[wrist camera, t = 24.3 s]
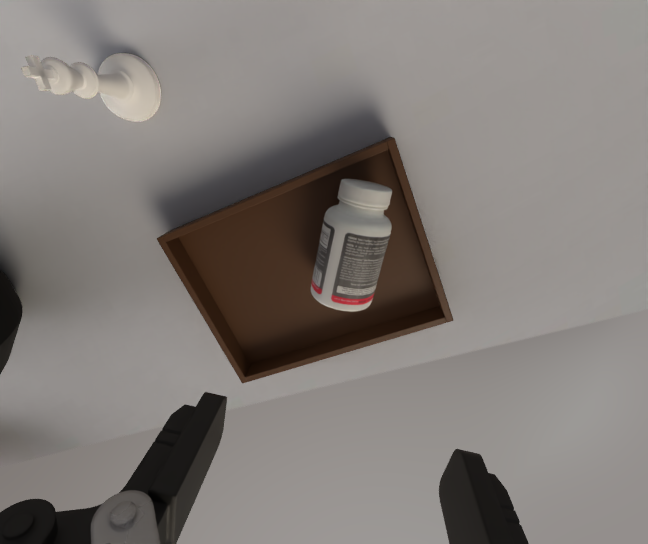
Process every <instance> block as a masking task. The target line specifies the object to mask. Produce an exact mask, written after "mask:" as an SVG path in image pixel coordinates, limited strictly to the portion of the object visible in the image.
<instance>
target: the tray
mask: <svg viewBox="0 0 648 544" xmlns="http://www.w3.org/2000/svg"><path fill="white" fill-rule="evenodd" d="M342 179H358V180H364V181H369V182H373V183H377V184H381V185H384V186H386V187H389V188H390V189H392V195H391V199H390V205H389V206H388V208H387V209H386V210H384V215H385V216H386V217H387V218H388V219H389V220H390V222H391V225H392V229H391V234H390V237H389V241H388V245H387V248H386V252H385V255H384V259H383V262H382V266H381V270H380V274H379V278H378V281H377V285H376V289H375V292H374V296H373V299H372V302H371V304H370V306H369V307H367V308H366V309H364V310H361V311H354V312H353V311H342V310H336V309H333V308H330V307H327V306H325V305H323V304H321V303H320V302H318V301H317V300H316V299H315V298H314V297H313V295H312V293H311V284H312V278H313V272H314V267H315V262H316V257H317V252H318V247H319V241H320V236H321V231H322V226H323V219H324V216H325V213H326V211H327V210H328V209H329V208H330V207H332V206H334V205H338V204H339V201H340V200H339V199H338V198H337V197H338V192H339V187H340V183H341V180H342ZM157 240H158V242H159V244H160V245H161V247H162V249H163V250H164V252H165V254H166V255H167V257H168V259H169V261H170V262H171V264H172V266H173V267H174V269H175V271H176V272H177V274H178V276H179V277H180V279H181V281H182V282H183V284H184V286H185V287H186V289H187V291H188V293H189V294H190V296H191V298H192V299H193V301H194V303H195V304H196V306H197V308H198V309H199V311H200V313H201V314H202V316H203V318H204V319H205V321H206V323H207V324H208V326H209V328H210V330H211V331H212V333H213V335H214V336H215V338H216V340H217V341H218V343H219V345H220V346H221V348H222V350H223V351H224V353H225V355H226V356H227V358H228V360H229V362H230V363H231V365H232V367H233V368H234V370H235V372H236V373H237V375H238V377H239V378H240V380H241V382H242V383H245V382H249V381H252V380H255V379H259V378H262V377H266V376H269V375H272V374H276V373H279V372H282V371H286V370H289V369H292V368H296V367H299V366H302V365H306V364H309V363H313V362H316V361H319V360H323V359H326V358H329V357H333V356H336V355H339V354H343V353H346V352H349V351H353V350H356V349H360V348H363V347H366V346H370V345H373V344H376V343H380V342H383V341H386V340H390V339H393V338H396V337H400V336H403V335H407V334H410V333H413V332H417V331H420V330H423V329H427V328H430V327H433V326H437V325H440V324H444V323H446V322H450V321H453V317H452V314H451V311H450V308H449V305H448V302H447V299H446V296H445V293H444V290H443V286H442V283H441V280H440V277H439V274H438V271H437V268H436V265H435V262H434V259H433V256H432V253H431V249H430V246H429V243H428V240H427V237H426V234H425V231H424V228H423V225H422V222H421V219H420V216H419V212H418V209H417V206H416V203H415V200H414V197H413V194H412V191H411V188H410V185H409V182H408V179H407V175H406V172H405V169H404V166H403V163H402V160H401V157H400V154H399V151H398V148H397V145H396V142H395V139H394V138H392V137H389V138H387V139H384V140H382V141H380V142H377V143H375V144H373V145H370V146H368V147H366V148H363V149H361V150H359V151H356V152H354V153H352V154H349V155H347V156H345V157H342V158H340V159H337V160H335V161H333V162H330V163H328V164H326V165H323V166H321V167H319V168H316V169H314V170H312V171H309V172H307V173H305V174H302V175H300V176H297V177H295V178H293V179H290V180H288V181H286V182H283V183H281V184H279V185H276V186H274V187H272V188H269V189H267V190H265V191H262V192H260V193H257V194H255V195H253V196H250V197H248V198H246V199H243V200H241V201H239V202H236V203H234V204H232V205H229V206H227V207H225V208H222V209H220V210H218V211H215V212H213V213H210V214H208V215H206V216H203V217H201V218H199V219H196V220H194V221H192V222H189V223H187V224H185V225H182V226H180V227H178V228H175V229H173V230H171V231H169V232H167V233H166V234H164V235H162V236H160V237H158V238H157Z"/></svg>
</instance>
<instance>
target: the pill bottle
mask: <svg viewBox="0 0 648 544" xmlns="http://www.w3.org/2000/svg"><path fill="white" fill-rule="evenodd" d="M391 195H392V189H390V188H389V187H386V186H384V185H381V184H377V183H373V182H369V181H364V180H358V179H342V180H341V183H340V187H339V192H338V197H337V198H338V199H339V200H340V201H339V204H338V205H334V206H332V207H330V208H329V209H328V210H327V211H326V213H325V216H324V219H323V226H322V231H321V236H320V241H319V247H318V252H317V257H316V262H315V267H314V272H313V278H312V284H311V293H312V295H313V297H314V298H315V299H316V300H317V301H318V302H320V303H321V304H323V305H325V306H327V307H330V308H333V309H336V310H342V311H353V312H354V311H361V310H364V309H366V308H367V307H369V306H370V304H371V302H372V299H373V296H374V292H375V289H376V285H377V281H378V278H379V274H380V270H381V266H382V262H383V259H384V255H385V252H386V248H387V245H388V241H389V237H390V234H391V229H392V225H391V222H390V220H389V219H388V218H387V217H386V216H385V215H384V210H386V209H387V208H388V206H389V205H390V199H391Z"/></svg>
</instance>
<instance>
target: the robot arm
mask: <svg viewBox="0 0 648 544" xmlns="http://www.w3.org/2000/svg"><path fill="white" fill-rule="evenodd" d="M226 403H227V397H225V396H221V395H216V394H212V393H207V392H205V393H204V394H203V396H202V397H201V399H200V401H199V402H198V404H197V406H196V407H194V406H189V405H184V406H182V407H181V408H180V409H178V410H177V411H176V412H174V413H173V414H172V415H171V416H170V418H169V419H168V421H167V422H166V424H165V426H164V427H163V430H162V431H161V432H160V433H159V435H158V436H157V438H156V440H155V442H154V443H153V444H152V446H151V447H150V449H149V450H148V452H147V453H146V455H145V457H144V458H143V460H142V461H141V463H140V464H139V466H138V467H137V469H136V470H135V472H134V473H133V475H132V477H131V478H130V480H129V481H128V483H127V484H126V486H125V487H124V488H123V489H122V490H121V491H120V492H119V493H118V494H116V495H114V496H112V497H110V498H109V499H108V500H106V501H105V502H104V503H103V504H101V505H98V506H95V507H92V508H87V509H78V510H69V511H61V512H55V508H54V507H53V505H52V504H51V503H50V502H48V501H46V500H42V499H30V500H25V501H22V502H19V503H16V504H14V505H12V506H10V507H8V508H7V509H5V510H3V511H2V512H0V544H176V542H177V540H178V538H179V536H180V534H181V531H182V529H183V527H184V524H185V522H186V520H187V518H188V515H189V513H190V511H191V508H192V506H193V504H194V501H195V499H196V497H197V495H198V492H199V490H200V488H201V485H202V483H203V481H204V478H205V476H206V474H207V471H208V469H209V467H210V465H211V462H212V460H213V458H214V455H215V453H216V451H217V448H218V446H219V443H220V440H221V437H222V433H223V427H224V419H225V411H226ZM439 497H440V503H441V507H442V512H443V516H444V521H445V525H446V530H447V534H448V539H449V544H528V541H527V539H526V536H525V534H524V531H523V529H522V527H521V525H520V524H519V519H518V517H517V514H516V512H515V511H514V507H513V504H512V502H511V500H510V497H509V495H508V492H507V490H506V489H505V488H504V486H503V485H502V484H501V482H500V481H499V480H498V478H497V477H496V476H495V475H494V474H490V473H488V472H487V469H486V467H485V464H484V462H483V459H482V457H481V455H480V454H477V453H473V452H468V451H463V450H459V449H456V450H455V451H454V452H453V454H452V456H451V459H450V461H449V463H448V465H447V467H446V469H445V471H444V473H443V475H442V478H441V481H440V486H439Z"/></svg>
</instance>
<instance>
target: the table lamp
mask: <svg viewBox="0 0 648 544" xmlns="http://www.w3.org/2000/svg"><path fill="white" fill-rule="evenodd" d="M21 318H22V304H21V301H20V299H19V297H18V295H17V293H16V292H15V290H14V288H13V287H12V285H11V283H10V282H9V280H8V278H7V277H6V275H5V274H4V273H3V272H1V271H0V374H1V372H2V370H3V368H4V367H5V365H6V363H7V361H8V359H9V356H10V353H11V350H12V347H13V343H14V340H15V337H16V334H17V331H18V327H19V324H20V321H21Z"/></svg>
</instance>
